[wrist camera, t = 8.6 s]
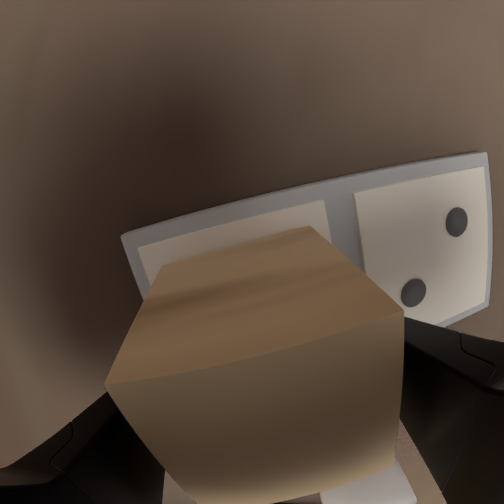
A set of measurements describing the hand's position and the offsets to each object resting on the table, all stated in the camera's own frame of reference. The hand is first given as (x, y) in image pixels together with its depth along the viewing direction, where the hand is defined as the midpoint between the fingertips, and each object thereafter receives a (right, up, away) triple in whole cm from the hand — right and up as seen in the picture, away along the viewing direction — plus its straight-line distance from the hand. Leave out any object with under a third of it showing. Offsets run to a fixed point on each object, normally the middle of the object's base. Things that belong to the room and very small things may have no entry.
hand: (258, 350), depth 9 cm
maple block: (0, +1, +2) cm, 2 cm away
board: (+3, +2, +3) cm, 5 cm away
